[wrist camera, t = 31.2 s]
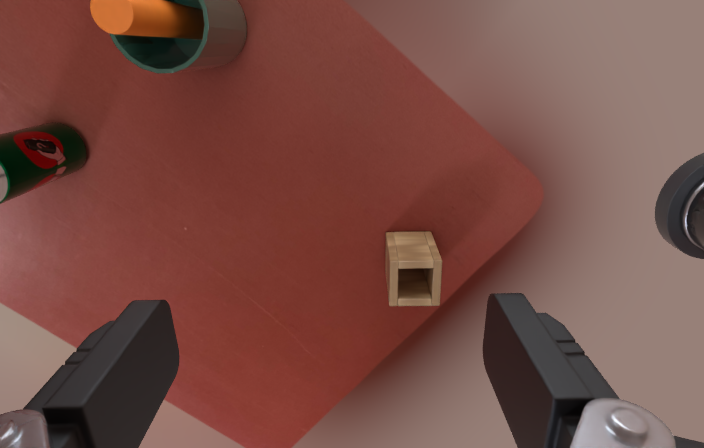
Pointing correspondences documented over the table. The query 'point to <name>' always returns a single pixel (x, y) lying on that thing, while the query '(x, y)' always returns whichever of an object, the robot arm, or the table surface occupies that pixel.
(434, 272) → the stand
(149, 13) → the orange rod
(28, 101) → the table surface
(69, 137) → the soda can
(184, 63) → the green cylindrical cup
